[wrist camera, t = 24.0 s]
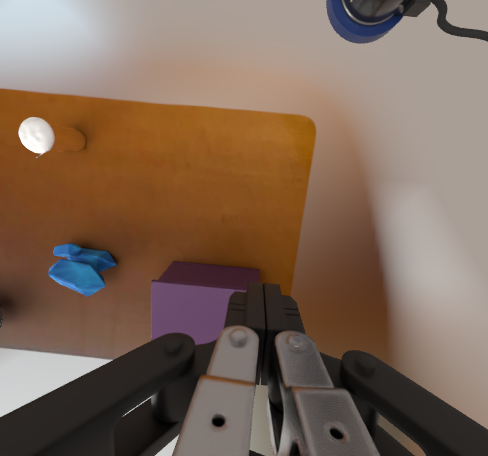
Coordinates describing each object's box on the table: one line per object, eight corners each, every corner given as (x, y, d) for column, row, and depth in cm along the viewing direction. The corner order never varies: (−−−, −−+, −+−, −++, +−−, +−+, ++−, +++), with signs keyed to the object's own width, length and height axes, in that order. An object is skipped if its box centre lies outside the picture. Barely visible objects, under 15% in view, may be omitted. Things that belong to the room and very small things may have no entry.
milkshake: (74, 163, 44) (23, 163, 34) (57, 132, 43) (-1, 123, 33) (97, 153, 43) (52, 150, 34) (81, 121, 42) (29, 108, 32)
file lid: (153, 355, 43) (151, 358, 42) (152, 279, 40) (150, 281, 39) (251, 365, 43) (251, 368, 42) (260, 289, 39) (260, 292, 39)
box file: (172, 326, 51) (157, 355, 43) (173, 261, 47) (158, 279, 40) (252, 334, 50) (251, 364, 43) (259, 269, 47) (260, 289, 40)
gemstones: (28, 243, 40) (93, 263, 38) (77, 232, 48) (133, 247, 46) (29, 287, 42) (91, 309, 39) (76, 268, 50) (130, 286, 48)
